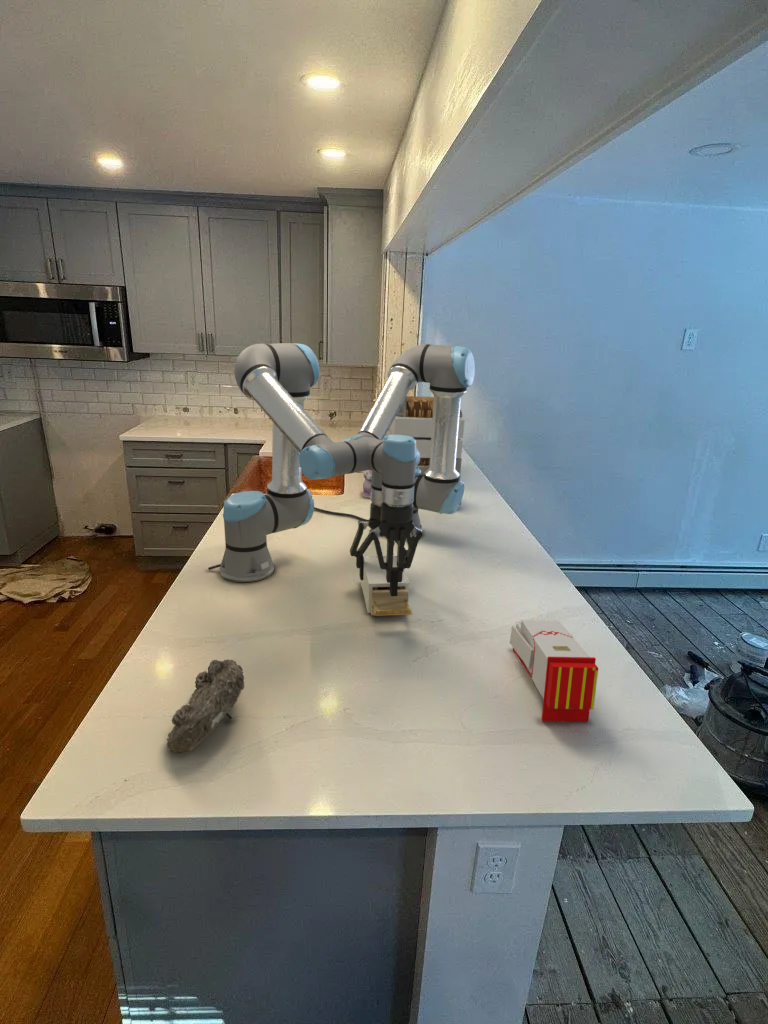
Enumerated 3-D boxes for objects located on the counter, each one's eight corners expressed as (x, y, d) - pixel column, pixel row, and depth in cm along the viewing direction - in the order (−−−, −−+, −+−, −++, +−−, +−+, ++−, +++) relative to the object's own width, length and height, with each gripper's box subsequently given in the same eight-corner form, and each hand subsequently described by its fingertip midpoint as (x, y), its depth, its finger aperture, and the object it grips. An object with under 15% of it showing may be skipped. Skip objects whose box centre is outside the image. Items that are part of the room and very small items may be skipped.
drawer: (411, 626, 140) (413, 602, 138) (374, 627, 139) (375, 603, 137) (397, 586, 160) (398, 565, 158) (364, 587, 159) (365, 566, 156)
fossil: (192, 660, 117) (244, 628, 112) (224, 691, 120) (276, 661, 115) (142, 746, 98) (202, 712, 93) (182, 779, 101) (242, 748, 96)
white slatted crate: (382, 463, 289) (386, 382, 275) (445, 464, 293) (451, 384, 279) (390, 482, 257) (394, 392, 243) (460, 483, 261) (468, 394, 247)
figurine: (366, 499, 233) (368, 464, 228) (356, 492, 241) (357, 458, 236) (387, 497, 237) (388, 462, 232) (376, 490, 246) (377, 456, 241)
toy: (555, 605, 135) (607, 664, 106) (550, 657, 138) (599, 728, 109) (505, 604, 135) (543, 662, 106) (500, 656, 138) (537, 727, 108)
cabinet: (407, 611, 149) (409, 582, 146) (367, 613, 147) (368, 583, 144) (396, 582, 164) (398, 555, 161) (360, 583, 163) (361, 556, 160)
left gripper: (371, 508, 127) (368, 601, 135) (428, 507, 129) (422, 599, 137) (367, 497, 134) (365, 587, 142) (421, 497, 136) (416, 585, 144)
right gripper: (342, 508, 146) (341, 584, 154) (429, 507, 150) (424, 582, 157) (340, 498, 153) (339, 572, 161) (423, 498, 157) (418, 570, 164)
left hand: (393, 593), depth 139 cm, fingers closed
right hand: (381, 577), depth 159 cm, fingers closed on cabinet, 10 cm apart
